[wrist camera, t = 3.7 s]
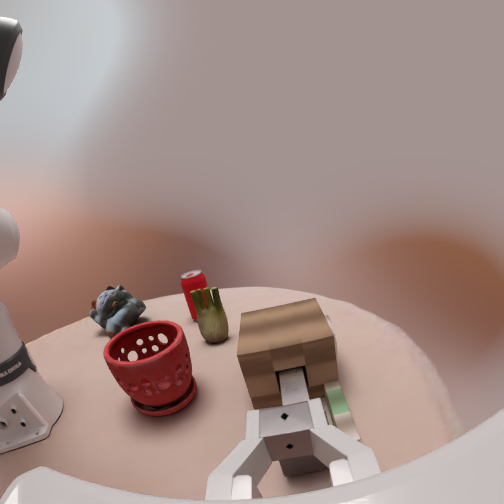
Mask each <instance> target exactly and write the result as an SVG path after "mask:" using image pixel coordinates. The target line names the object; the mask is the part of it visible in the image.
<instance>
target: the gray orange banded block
mask: <svg viewBox="0 0 504 504" xmlns="http://www.w3.org/2000/svg"><path fill="white" fill-rule="evenodd" d="M279 377H280V386H281V395H282V404H283V406H284V405H289V404H294V403H299V402H303V401H308V400H309V395H308V391H307V387H306V382H305V378H304V374H303V370H302V366H299V367H294V368H289V369H284V370H279ZM324 413H325V416H326V412H325V411H324ZM326 420H327V416H326ZM327 424H328V425H329V423H328V420H327ZM279 462H280V465H281V468H282V471H283V474H284V476H285V477H287V476H294V475H300V474H305V473H310V472H315V471H320V470H325V469H329V468H328V467H327V466H326V465H324V464H323V463H322V462H321V461H320V460H319V459H318V458H316V457H315V456H314V454H312V455H306V456H301V457H294V458H289V459H283V460H279Z"/></svg>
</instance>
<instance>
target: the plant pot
mask: <svg viewBox="0 0 504 504" xmlns="http://www.w3.org/2000/svg"><path fill="white" fill-rule="evenodd" d="M160 333H162V334H164V335H165V336H166V337H167V339H168V342H167V343H162V342H160V341H159V339H158V334H160ZM149 336H152V337H153V338H154V340H149V338H148V337H149ZM174 338H175V339H174ZM138 339H142V340H143V344H142V345H137V343H136V342H137V340H138ZM153 345H156V346H158V348H159V350H158V351H153V350H152V346H153ZM122 348H124V353H122V352H121V349H122ZM143 348H146V349H147V352H146V353H143V352H142V349H143ZM130 351H136V353H137V354H138V358H137V360H136V361H129V360H128V354H129V352H130ZM104 358H105V361H106V363H107V365H108V367H109V369H110V371H111V373H112V374H113V376H114V378H115V379H116V381H117V382H118V384H119V385H120V387H121V388H122V389H123V390H124V391H125V392H126V393H127V394H128V395H129V396H130V397H131V402H132V404H133V405H134V407H135V408H136V409H137V410H138V411H140V412H142V413H144V414H147V415H151V416H163V415H168V414H171V413H174V412H176V411H178V410H180V409H182V408H183V407H185V406H186V405H187V404H188V403H189V402H190V401H191V400H192V398H193V397H194V395H195V392H196V388H197V385H196V380H195V378H194V377H193V376H192V364H191V359H190V352H189V348H188V344H187V341H186V338H185V335H184V332H183V330H182V328H181V326H179V325H178V324H176V323H174V322H170V321H150V322H145V323H141V324H138V325H135V326H132V327H130V328H127V329H125V330H123V331H121V332H120V333H118V334H117V335H115V336H114V337H113V338H112V339H111V340H110V341H109V342H108V343H107V345H106V346H105V348H104ZM118 358H120V361H118Z"/></svg>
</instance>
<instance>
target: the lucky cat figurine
mask: <svg viewBox="0 0 504 504" xmlns="http://www.w3.org/2000/svg"><path fill="white" fill-rule="evenodd" d="M91 304H92V309H91V310H90V313H89V315H90V317H91V318H92V319H93V320H94V321H95V322H96V323H98V324H99V325H100V326H101V327H102V328H104V329H105V330H106V331H107V333H108V334H109V336H110V337H112V338H113V337H114V336H115V335H117V334H118V333H120V332H121V331H123V330H125V329H127V328H128V327H129V326H130V325H131V324H132V323H133V322H134V321H135V320H136V319H137V318H139V316H140V315H141V314H142V313H143V311H144V310H145V309H146V306H145V304H144V303H143V302H142V301H141V300H139V299H137V298H133V297H132V296H131V294H130V293H129V292H127V291H126V290H125V289H124V288H123V286H121V285H119V286H118V287H117V288H116V289H115V288H113V287H110V286H109V287H107V289H106V291H104V292H103V293H102V294H101V295H100V296H99V298H98V299H97V300H94V301H92V302H91Z"/></svg>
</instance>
